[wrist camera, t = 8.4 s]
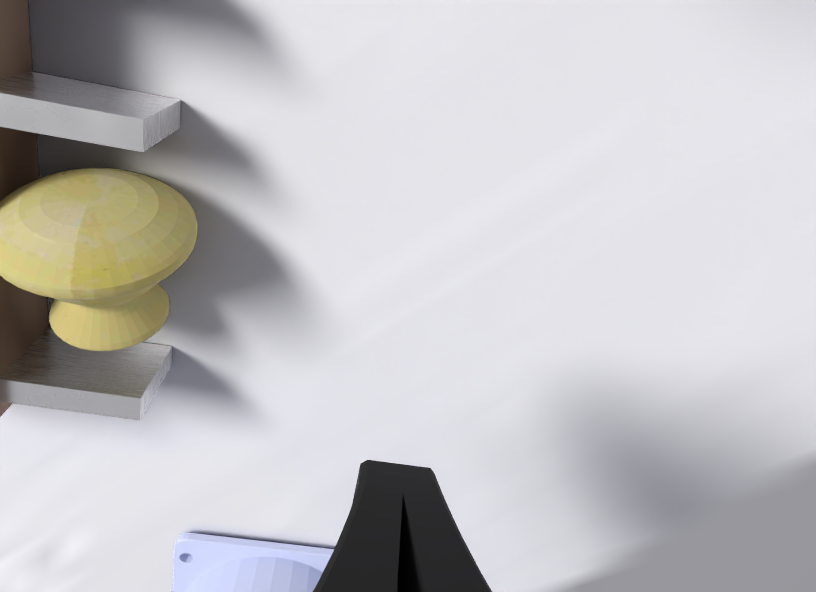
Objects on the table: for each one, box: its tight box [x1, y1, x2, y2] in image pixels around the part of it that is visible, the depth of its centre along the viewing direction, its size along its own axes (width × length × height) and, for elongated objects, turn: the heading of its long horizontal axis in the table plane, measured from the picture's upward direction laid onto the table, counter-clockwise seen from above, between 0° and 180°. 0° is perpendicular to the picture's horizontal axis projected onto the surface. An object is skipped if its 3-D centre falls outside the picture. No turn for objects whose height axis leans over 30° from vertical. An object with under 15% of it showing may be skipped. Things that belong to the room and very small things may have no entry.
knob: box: [0, 168, 197, 351], centre depth 17 cm, size 5×5×5 cm
